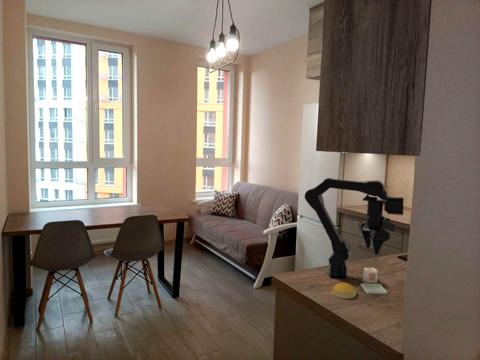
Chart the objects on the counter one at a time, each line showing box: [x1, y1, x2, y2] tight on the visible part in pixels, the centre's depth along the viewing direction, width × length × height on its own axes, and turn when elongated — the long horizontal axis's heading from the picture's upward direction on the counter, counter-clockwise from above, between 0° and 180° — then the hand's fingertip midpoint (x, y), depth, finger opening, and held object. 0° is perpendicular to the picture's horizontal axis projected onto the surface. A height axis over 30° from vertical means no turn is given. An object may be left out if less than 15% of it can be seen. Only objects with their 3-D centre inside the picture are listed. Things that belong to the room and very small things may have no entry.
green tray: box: [360, 282, 388, 295], centre depth 135 cm, size 7×7×1 cm
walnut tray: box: [357, 275, 384, 287], centre depth 143 cm, size 7×7×1 cm
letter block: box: [363, 267, 379, 283], centre depth 143 cm, size 4×4×5 cm
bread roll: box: [331, 282, 357, 300], centre depth 130 cm, size 8×9×4 cm
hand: (372, 251), depth 142 cm, fingers open, 9 cm apart
